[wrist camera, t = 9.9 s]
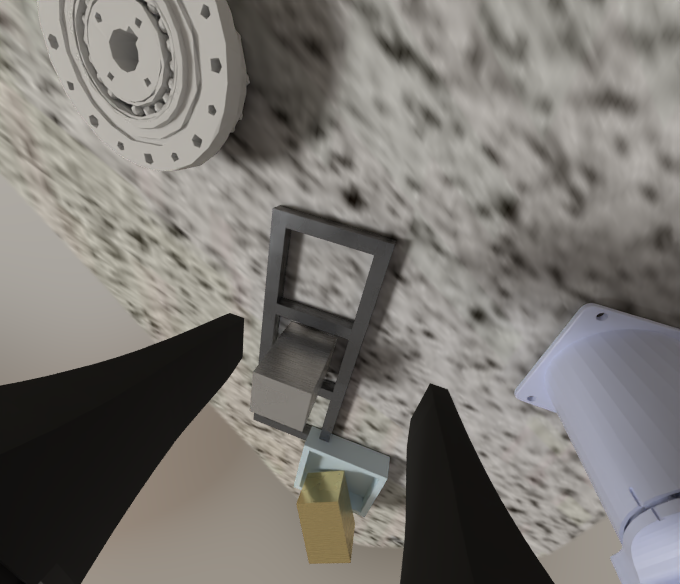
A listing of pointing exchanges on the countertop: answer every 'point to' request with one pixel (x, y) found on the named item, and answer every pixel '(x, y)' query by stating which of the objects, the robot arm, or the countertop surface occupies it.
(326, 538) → the tan wooden post
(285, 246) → the rail
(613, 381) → the robot arm
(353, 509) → the parts tray
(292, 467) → the countertop surface
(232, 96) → the mechanical component
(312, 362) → the grey block
